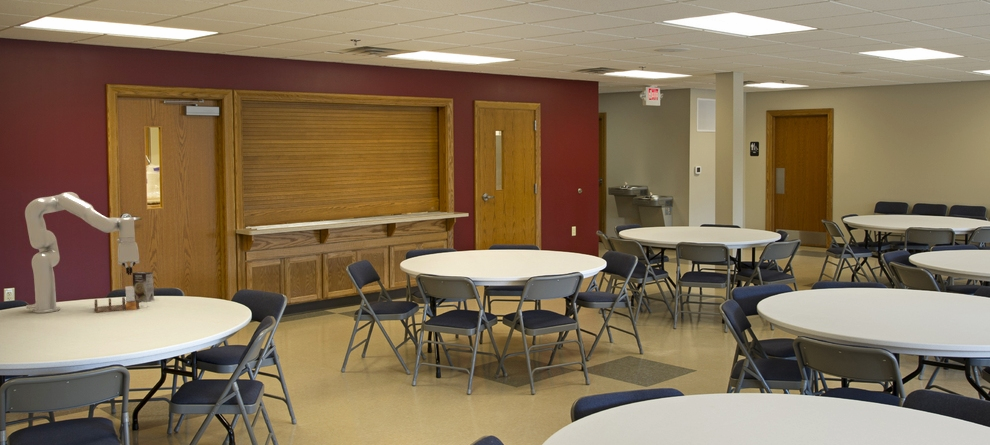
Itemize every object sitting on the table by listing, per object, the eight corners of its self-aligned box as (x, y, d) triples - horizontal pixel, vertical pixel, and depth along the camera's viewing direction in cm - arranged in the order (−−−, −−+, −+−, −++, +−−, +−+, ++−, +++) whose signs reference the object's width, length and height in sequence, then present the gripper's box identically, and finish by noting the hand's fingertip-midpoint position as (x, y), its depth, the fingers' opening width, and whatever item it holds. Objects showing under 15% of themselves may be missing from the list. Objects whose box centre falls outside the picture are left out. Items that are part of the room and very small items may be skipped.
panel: (126, 308, 443) (125, 289, 442) (126, 304, 453) (125, 286, 452) (135, 307, 444) (134, 288, 444) (134, 304, 454) (133, 286, 453)
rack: (94, 313, 434) (94, 303, 434) (95, 308, 448) (94, 299, 448) (139, 309, 443) (139, 300, 443) (138, 304, 457) (137, 296, 457)
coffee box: (133, 301, 468) (131, 272, 467) (141, 299, 474) (139, 271, 473) (146, 302, 466) (145, 273, 464) (154, 300, 472) (153, 271, 471)
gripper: (112, 242, 439) (114, 276, 441) (142, 240, 445) (144, 274, 447) (112, 240, 446) (114, 275, 447) (142, 239, 452) (144, 272, 454)
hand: (129, 274), depth 447 cm, fingers closed
